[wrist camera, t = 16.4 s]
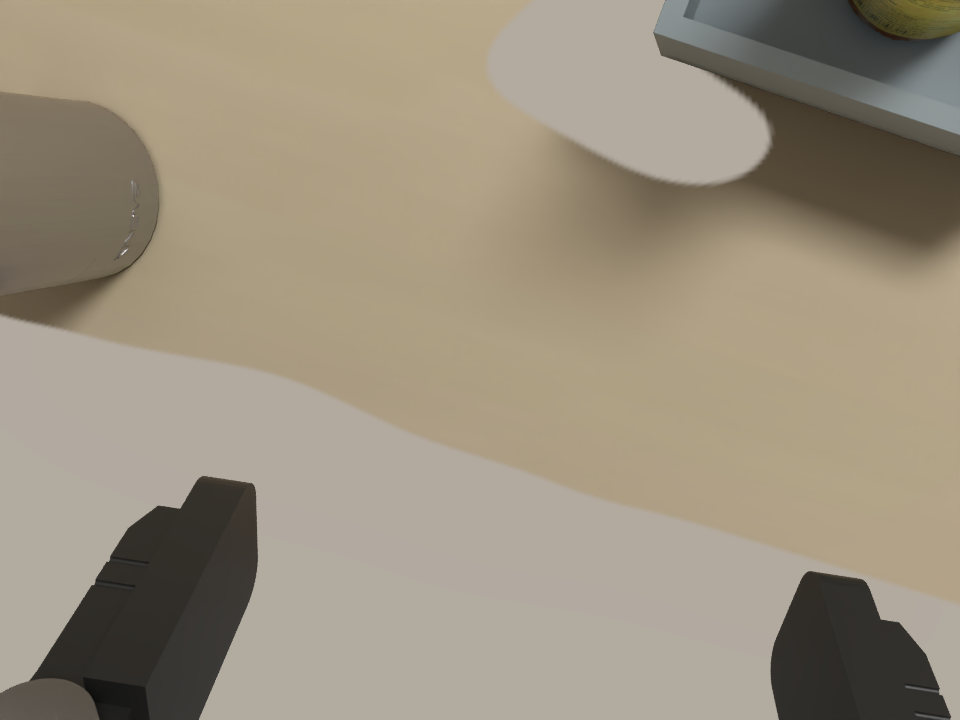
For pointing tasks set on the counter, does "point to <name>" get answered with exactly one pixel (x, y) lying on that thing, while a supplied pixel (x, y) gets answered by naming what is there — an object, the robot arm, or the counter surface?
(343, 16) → the counter surface
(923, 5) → the sauce bottle
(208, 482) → the robot arm
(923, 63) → the tote
